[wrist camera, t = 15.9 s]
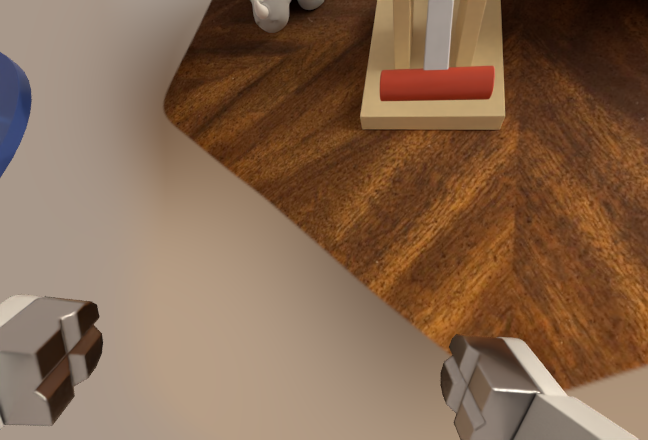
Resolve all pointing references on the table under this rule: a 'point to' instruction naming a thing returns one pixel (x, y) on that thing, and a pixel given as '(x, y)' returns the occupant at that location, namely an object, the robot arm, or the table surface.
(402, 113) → the wooden lever stand
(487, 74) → the lever
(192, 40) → the table surface
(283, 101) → the table surface
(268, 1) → the chubby cartoon animal
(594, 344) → the table surface
